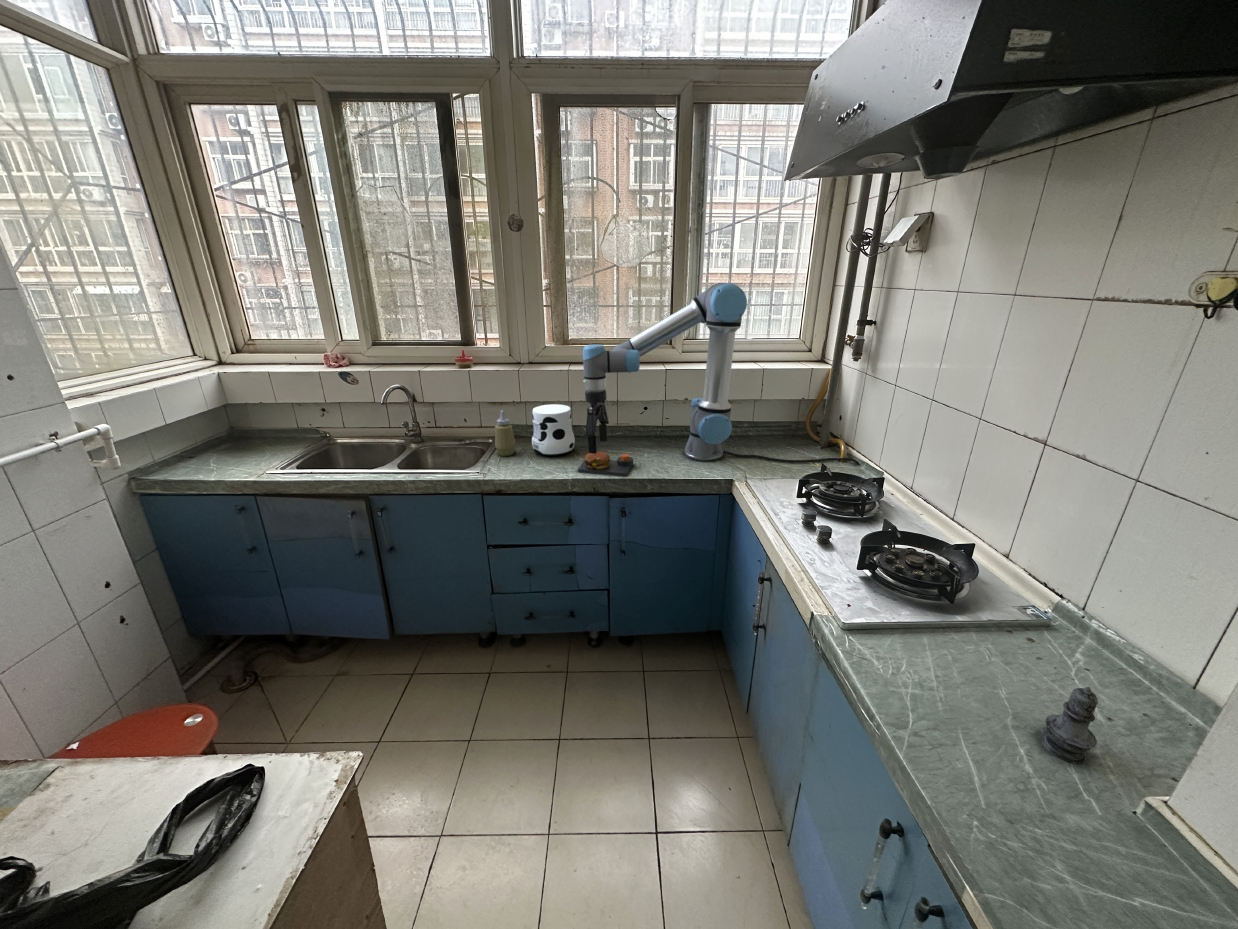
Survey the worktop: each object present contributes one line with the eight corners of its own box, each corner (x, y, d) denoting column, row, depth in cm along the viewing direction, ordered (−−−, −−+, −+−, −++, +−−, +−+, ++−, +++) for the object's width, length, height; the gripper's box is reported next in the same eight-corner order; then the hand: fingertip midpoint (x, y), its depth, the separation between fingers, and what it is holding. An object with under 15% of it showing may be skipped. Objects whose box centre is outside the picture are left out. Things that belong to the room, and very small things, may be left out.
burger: (604, 459, 192) (604, 448, 190) (614, 467, 184) (614, 455, 182) (580, 463, 188) (579, 451, 186) (589, 471, 180) (589, 459, 178)
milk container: (579, 445, 211) (578, 404, 204) (568, 460, 195) (566, 415, 188) (540, 443, 214) (537, 403, 207) (526, 457, 198) (523, 413, 191)
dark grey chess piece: (1047, 758, 74) (1072, 696, 70) (1032, 726, 79) (1055, 667, 75) (1096, 771, 72) (1126, 708, 68) (1078, 738, 77) (1104, 677, 73)
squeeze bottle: (519, 454, 201) (515, 411, 195) (500, 458, 197) (496, 414, 190) (511, 449, 207) (507, 407, 201) (493, 453, 203) (488, 410, 197)
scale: (634, 464, 190) (634, 456, 189) (626, 476, 179) (626, 468, 178) (588, 460, 194) (588, 453, 193) (578, 472, 183) (577, 464, 182)
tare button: (630, 458, 188) (630, 454, 187) (628, 461, 185) (628, 457, 185) (622, 458, 189) (622, 453, 188) (620, 460, 186) (620, 456, 185)
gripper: (595, 382, 188) (598, 436, 195) (573, 397, 165) (577, 457, 173) (614, 382, 186) (616, 436, 193) (595, 398, 163) (598, 459, 171)
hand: (598, 446), depth 183 cm, fingers open, 13 cm apart
